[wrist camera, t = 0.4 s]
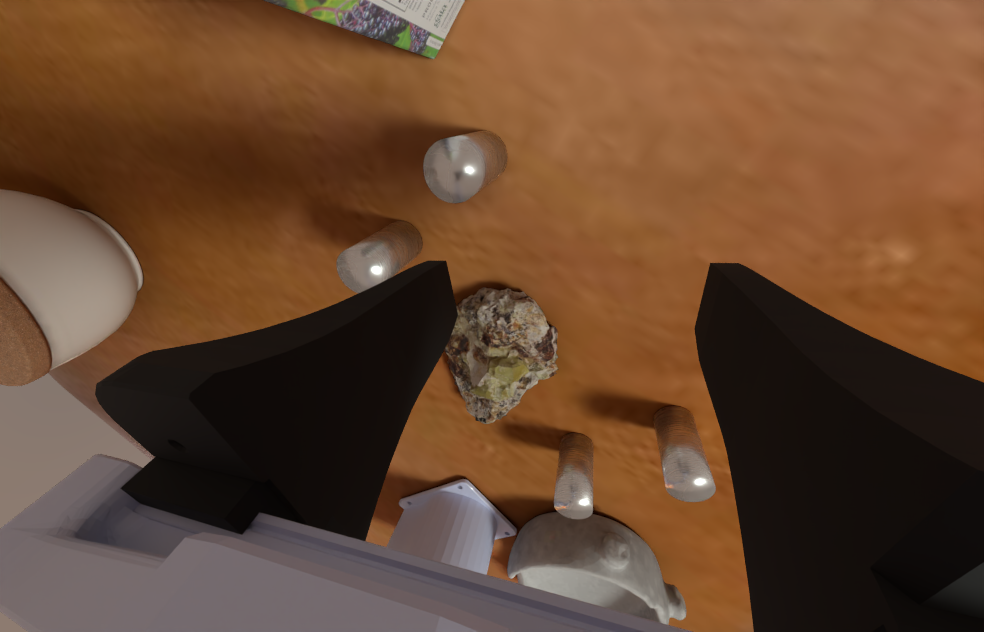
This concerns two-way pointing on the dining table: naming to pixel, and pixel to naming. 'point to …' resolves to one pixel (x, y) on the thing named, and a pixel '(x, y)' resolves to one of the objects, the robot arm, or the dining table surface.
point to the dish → (594, 566)
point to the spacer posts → (456, 178)
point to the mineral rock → (499, 351)
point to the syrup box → (386, 19)
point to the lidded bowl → (58, 284)
